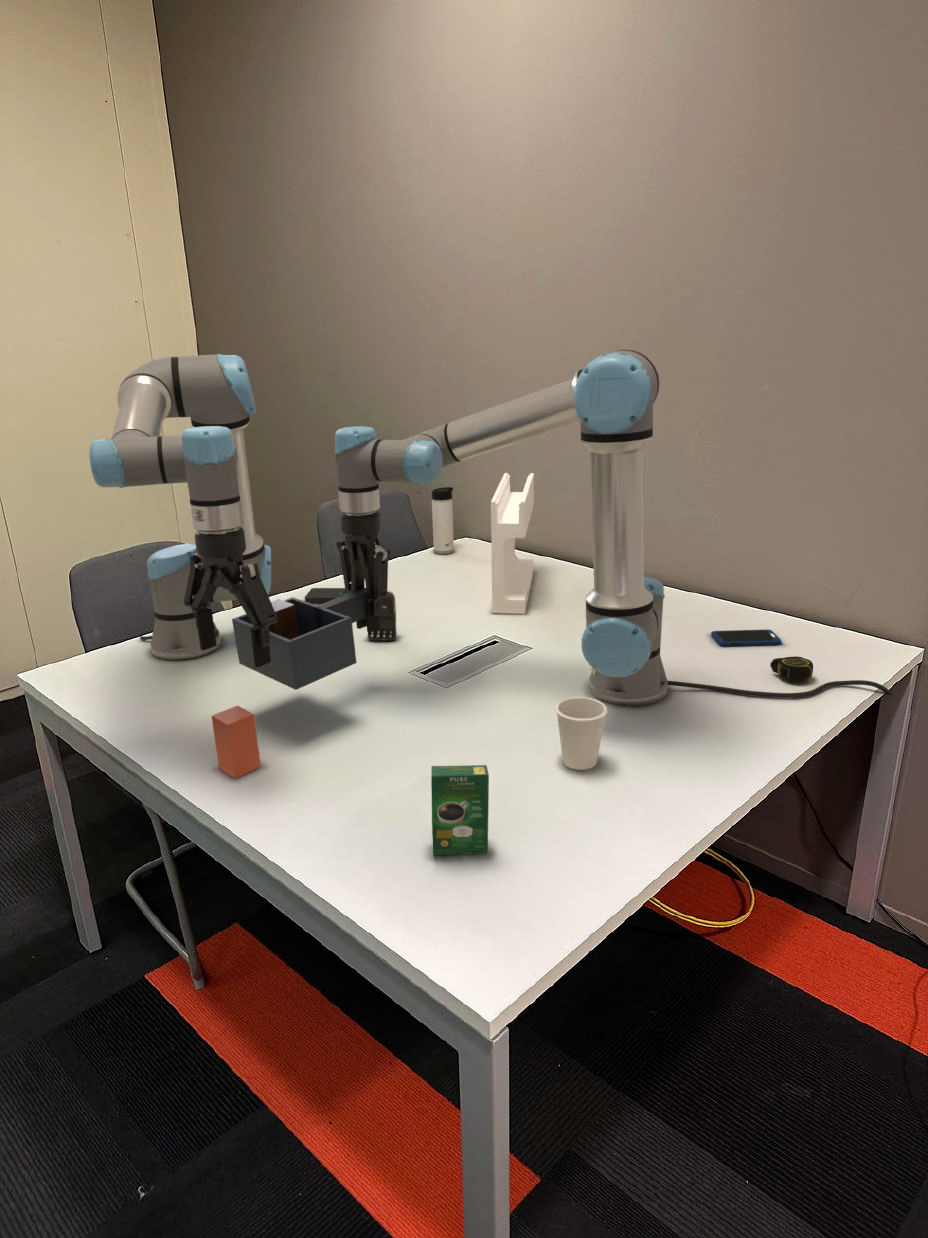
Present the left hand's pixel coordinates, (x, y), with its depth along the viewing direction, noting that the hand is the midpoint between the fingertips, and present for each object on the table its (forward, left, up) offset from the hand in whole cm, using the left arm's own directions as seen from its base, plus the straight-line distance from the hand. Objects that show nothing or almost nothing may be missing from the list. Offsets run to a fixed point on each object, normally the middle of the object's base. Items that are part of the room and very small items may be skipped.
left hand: (235, 656), depth 140 cm
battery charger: (-24, +52, -19) cm, 60 cm away
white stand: (-23, +98, -19) cm, 102 cm away
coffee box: (+45, +6, -19) cm, 49 cm away
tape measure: (+55, +92, -19) cm, 109 cm away
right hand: (-6, +33, -7) cm, 34 cm away
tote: (-6, +23, -8) cm, 25 cm away
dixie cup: (+43, +37, -19) cm, 60 cm away
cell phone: (+39, +105, -19) cm, 113 cm away
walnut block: (-9, +15, -8) cm, 19 cm away
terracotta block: (+1, -2, -19) cm, 20 cm away
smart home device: (-53, +65, -19) cm, 86 cm away
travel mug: (-64, +113, -19) cm, 131 cm away
